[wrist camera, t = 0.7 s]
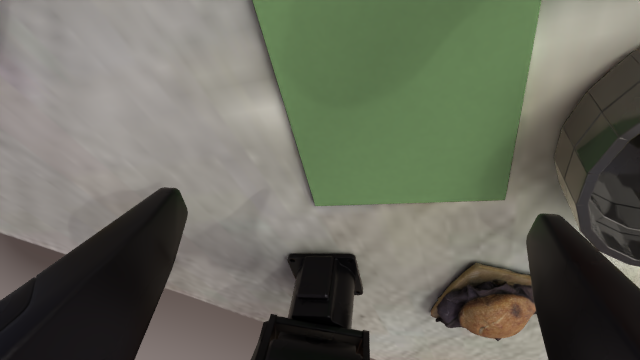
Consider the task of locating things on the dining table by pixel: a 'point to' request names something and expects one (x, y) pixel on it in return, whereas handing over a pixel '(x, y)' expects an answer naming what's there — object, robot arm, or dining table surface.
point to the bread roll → (487, 302)
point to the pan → (605, 162)
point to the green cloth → (402, 94)
